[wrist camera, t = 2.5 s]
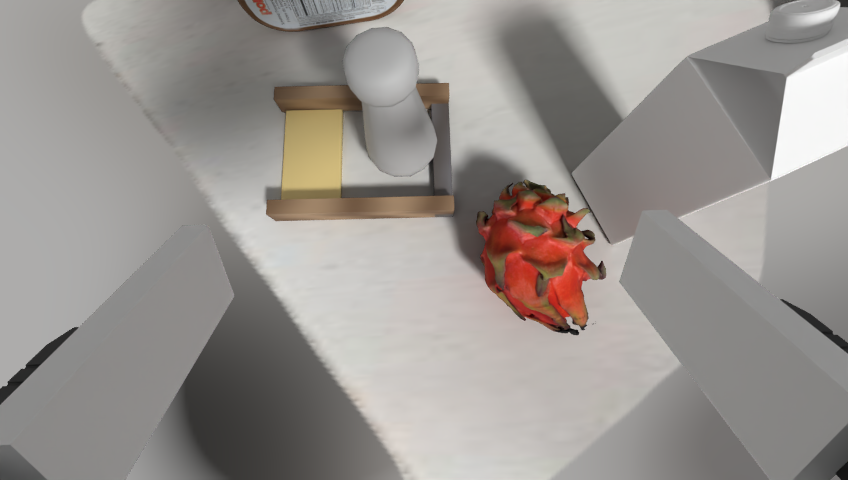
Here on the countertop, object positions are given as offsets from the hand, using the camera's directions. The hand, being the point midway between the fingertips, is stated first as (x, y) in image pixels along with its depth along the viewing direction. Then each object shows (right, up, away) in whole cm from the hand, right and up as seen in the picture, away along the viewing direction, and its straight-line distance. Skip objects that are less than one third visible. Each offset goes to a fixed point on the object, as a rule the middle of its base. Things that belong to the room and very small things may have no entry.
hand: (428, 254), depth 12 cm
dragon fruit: (+8, -2, +20) cm, 21 cm away
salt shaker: (-2, +8, +21) cm, 23 cm away
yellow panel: (-10, +8, +21) cm, 25 cm away
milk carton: (+17, +4, +21) cm, 27 cm away
